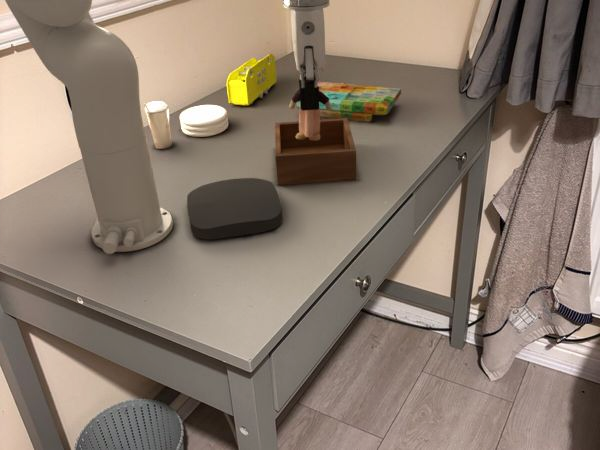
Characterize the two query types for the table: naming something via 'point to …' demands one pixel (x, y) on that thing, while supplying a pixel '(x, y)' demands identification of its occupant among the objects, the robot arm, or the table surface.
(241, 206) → the media streaming box
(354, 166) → the crate
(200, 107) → the white short cylinder
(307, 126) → the grandmother figurine
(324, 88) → the puzzle game
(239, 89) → the yellow toy chassis
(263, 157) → the table surface
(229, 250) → the table surface
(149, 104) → the milkshake
